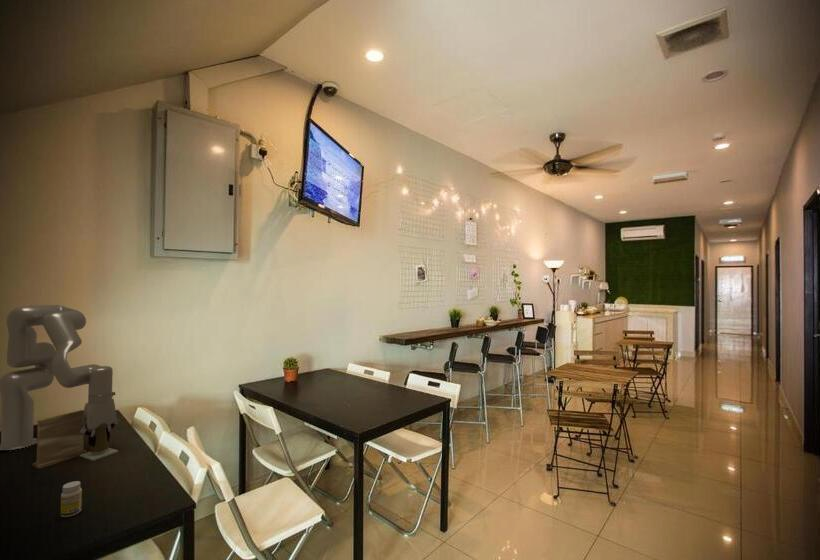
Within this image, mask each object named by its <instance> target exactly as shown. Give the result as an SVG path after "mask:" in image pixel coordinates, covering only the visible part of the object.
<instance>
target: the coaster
mask: <svg viewBox="0 0 820 560" xmlns="http://www.w3.org/2000/svg"><path fill="white" fill-rule="evenodd" d="M116 453H119V450H118V449H115V448H110V447H109V448H108V449H106V450H104V451H100V452H90V451H87V453H84V454H81V455H80V456H79V457H80V458H83V459H86V460H88V461H92V462H93V461H96V460H100V459H102V458H105V457H108V456H110V455H113V454H116Z"/></svg>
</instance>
